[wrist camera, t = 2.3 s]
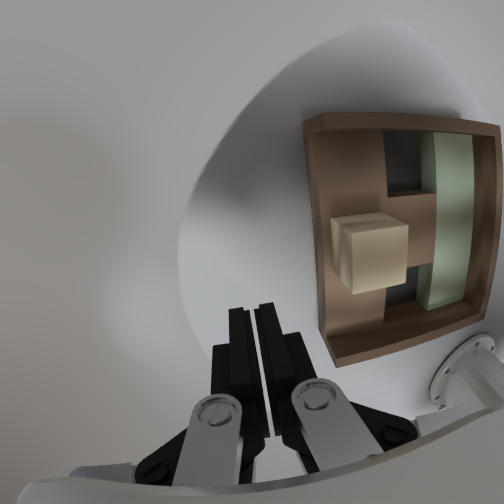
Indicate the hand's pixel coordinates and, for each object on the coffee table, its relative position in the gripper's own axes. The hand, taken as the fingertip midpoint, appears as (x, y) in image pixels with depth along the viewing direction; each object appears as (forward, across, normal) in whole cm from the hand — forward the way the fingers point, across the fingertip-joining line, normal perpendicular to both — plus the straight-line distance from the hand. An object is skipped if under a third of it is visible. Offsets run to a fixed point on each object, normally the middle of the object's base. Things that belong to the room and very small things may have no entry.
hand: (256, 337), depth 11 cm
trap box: (+12, -14, +1) cm, 19 cm away
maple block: (+10, -8, +1) cm, 13 cm away
